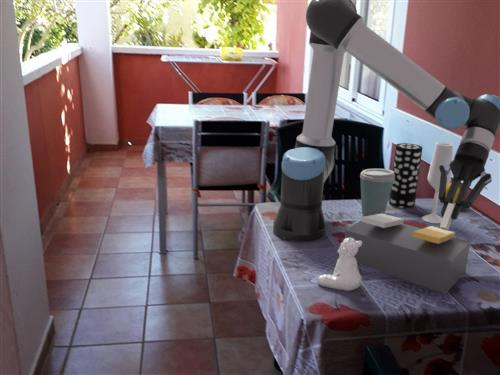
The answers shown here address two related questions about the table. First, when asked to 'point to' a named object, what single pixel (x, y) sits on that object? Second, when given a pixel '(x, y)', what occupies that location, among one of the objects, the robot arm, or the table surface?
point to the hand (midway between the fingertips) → (443, 228)
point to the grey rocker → (382, 220)
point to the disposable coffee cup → (375, 190)
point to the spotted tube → (405, 175)
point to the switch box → (410, 255)
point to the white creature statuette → (344, 268)
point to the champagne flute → (438, 175)
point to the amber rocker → (434, 234)
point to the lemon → (455, 194)
